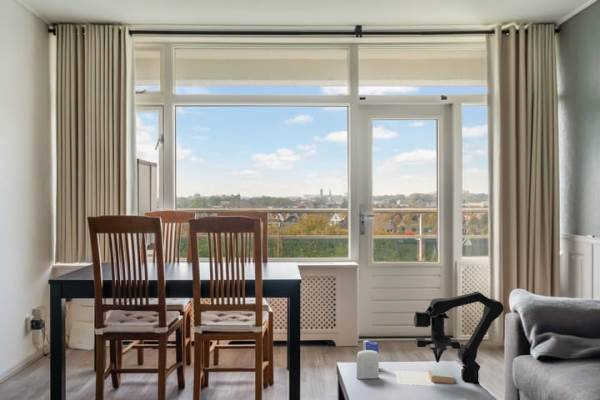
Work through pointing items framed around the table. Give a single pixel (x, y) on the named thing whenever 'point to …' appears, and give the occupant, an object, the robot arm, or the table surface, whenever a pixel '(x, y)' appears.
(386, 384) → the table surface
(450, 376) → the tile
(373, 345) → the walkman
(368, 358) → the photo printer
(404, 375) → the mat
